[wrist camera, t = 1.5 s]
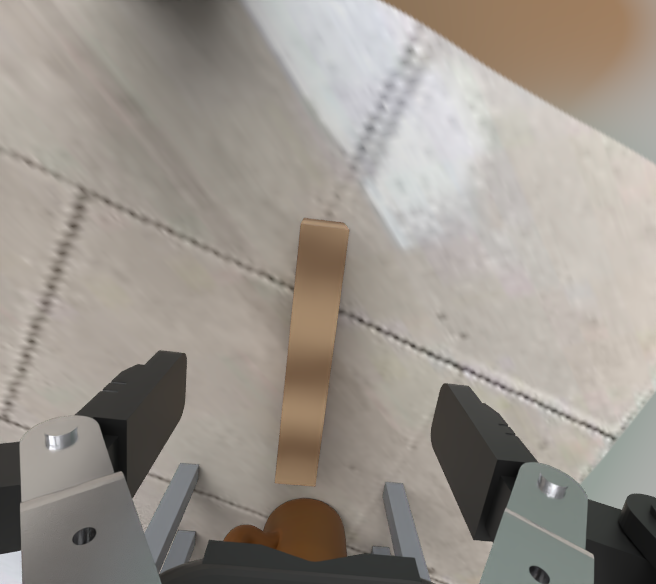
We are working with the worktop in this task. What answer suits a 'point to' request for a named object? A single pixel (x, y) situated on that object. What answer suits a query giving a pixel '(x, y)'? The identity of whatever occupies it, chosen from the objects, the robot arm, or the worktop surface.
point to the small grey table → (184, 542)
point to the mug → (298, 531)
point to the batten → (310, 348)
